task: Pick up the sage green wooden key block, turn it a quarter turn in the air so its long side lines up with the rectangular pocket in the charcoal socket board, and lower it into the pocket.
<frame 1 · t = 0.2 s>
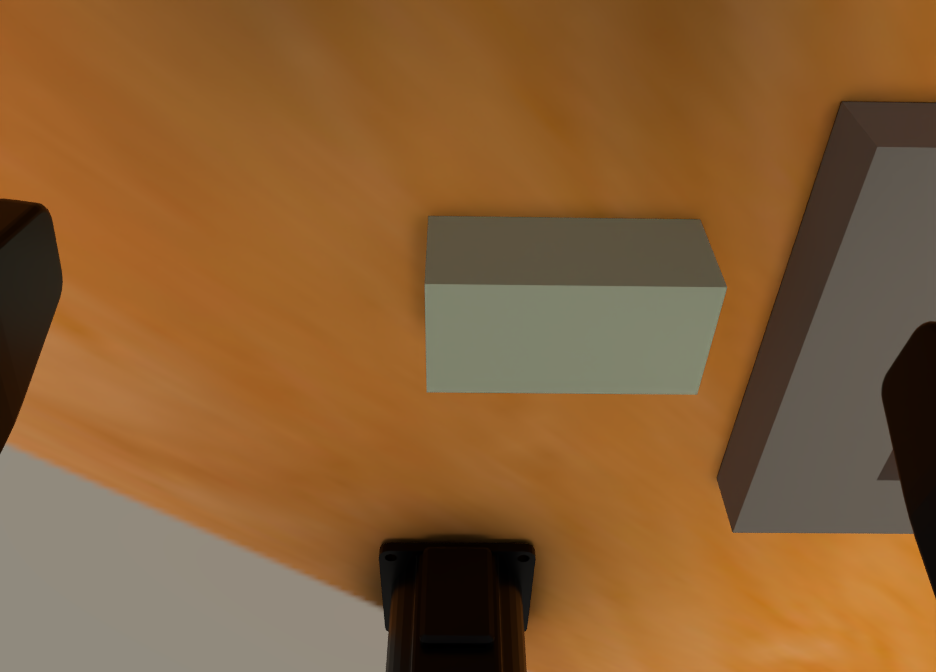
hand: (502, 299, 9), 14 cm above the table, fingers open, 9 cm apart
key block: (557, 268, 26), on the table
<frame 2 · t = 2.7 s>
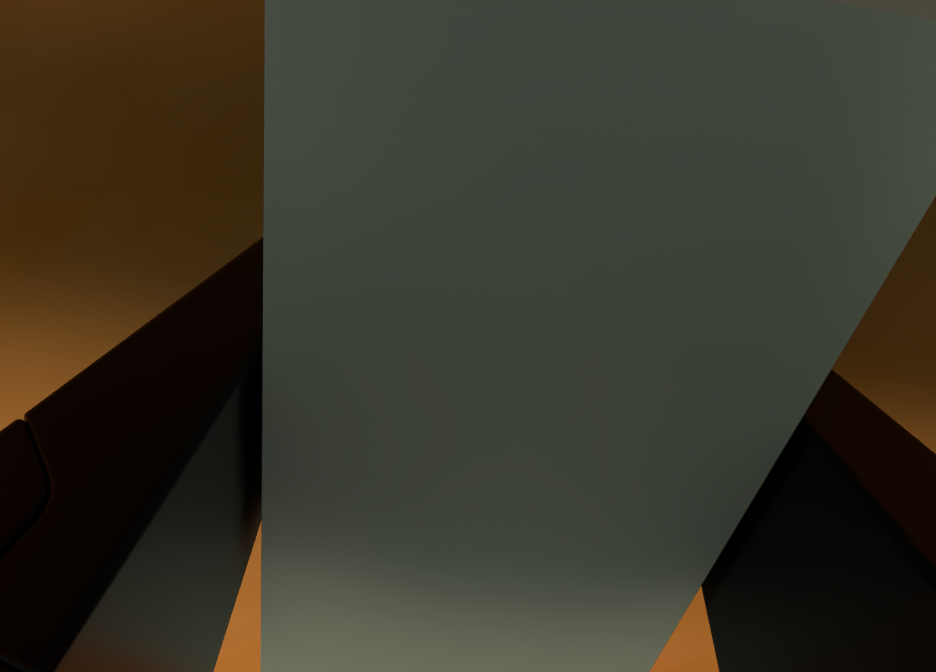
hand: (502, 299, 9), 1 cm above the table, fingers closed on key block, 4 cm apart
key block: (498, 243, 9), on the table, touching gripper
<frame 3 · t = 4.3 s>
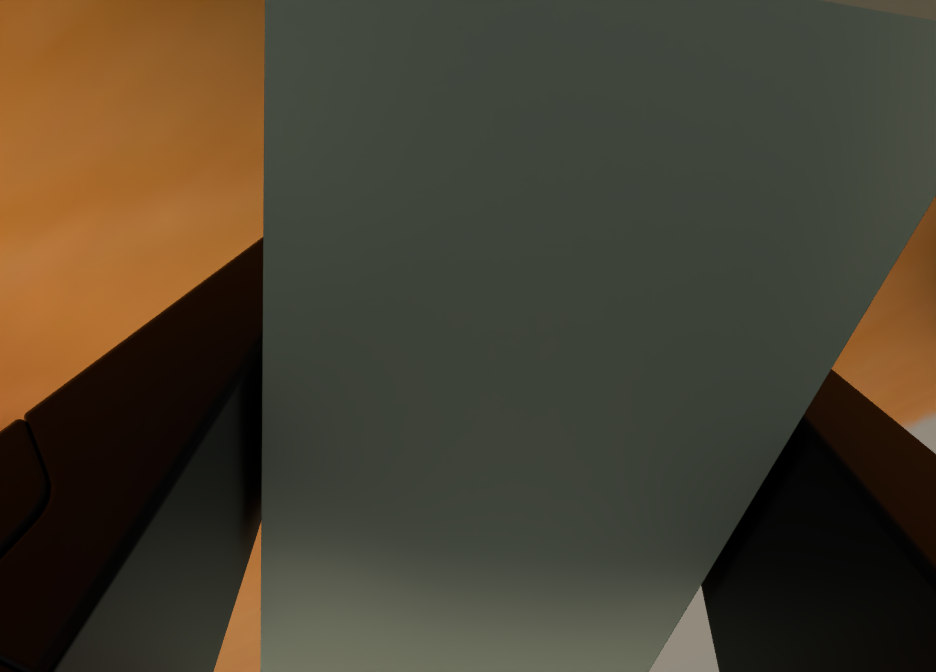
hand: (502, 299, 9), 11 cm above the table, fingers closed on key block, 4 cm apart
key block: (498, 242, 9), point 10 cm above the table, touching gripper
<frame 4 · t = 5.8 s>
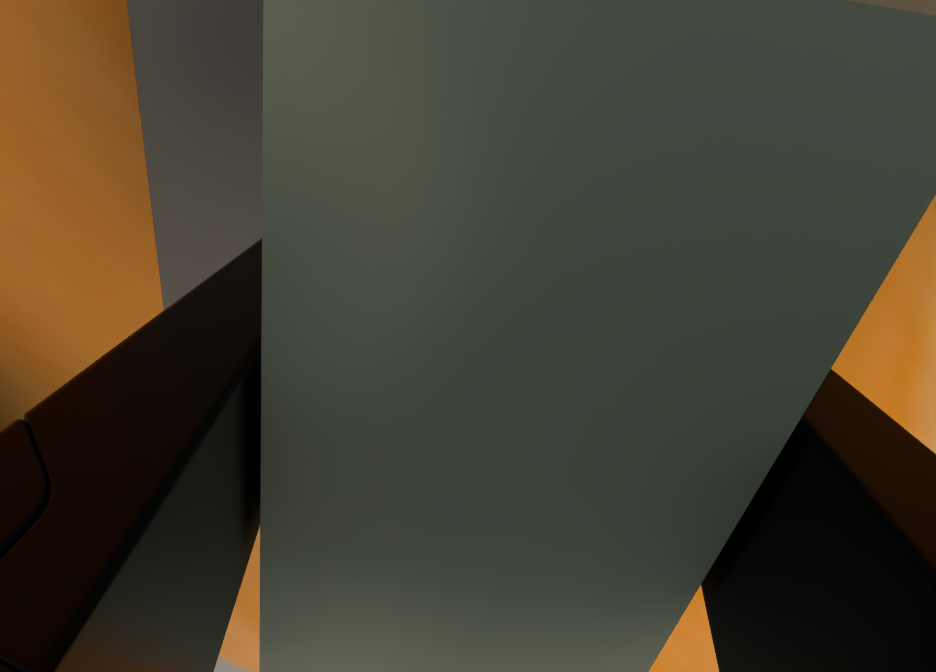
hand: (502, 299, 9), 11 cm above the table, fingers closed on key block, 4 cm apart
key block: (497, 241, 9), point 10 cm above the table, touching gripper
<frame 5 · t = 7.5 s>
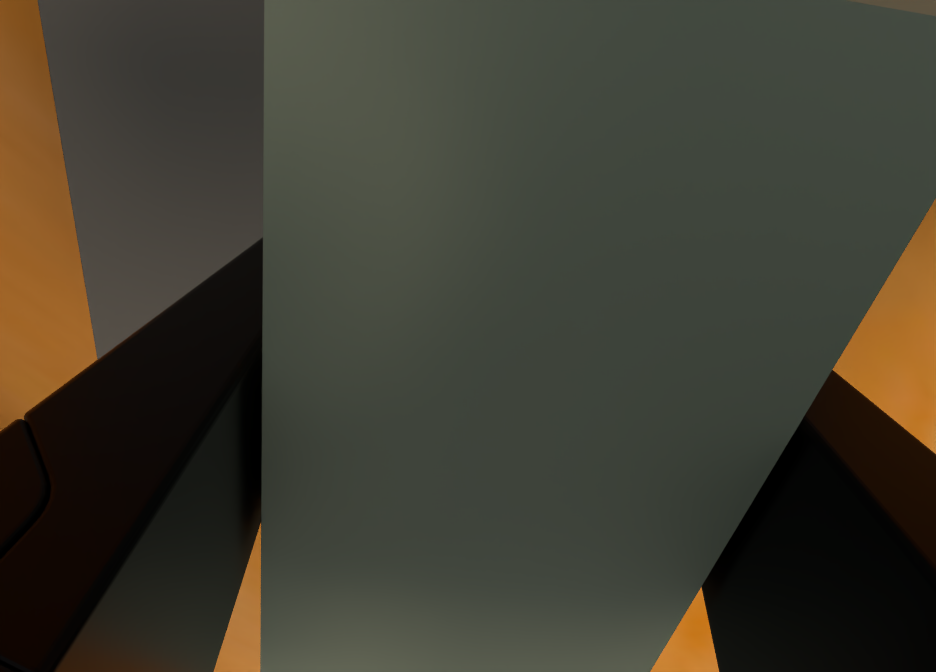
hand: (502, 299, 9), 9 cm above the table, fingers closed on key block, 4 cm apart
key block: (498, 241, 9), point 8 cm above the table, touching gripper
socket board: (489, 10, 15), on the table
when the fingers open (3 cm above the table, at t = 9.0 s): key block drops 2 cm, resting in socket board.
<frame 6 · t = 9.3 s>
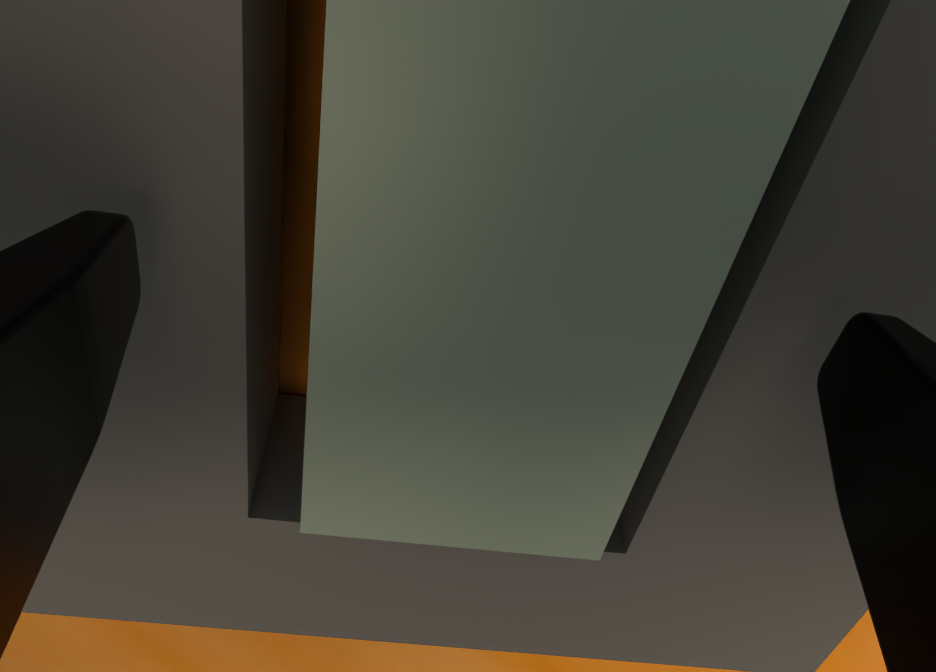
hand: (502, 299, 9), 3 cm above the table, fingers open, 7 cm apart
key block: (499, 149, 11), resting in socket board
socket board: (496, 159, 11), on the table
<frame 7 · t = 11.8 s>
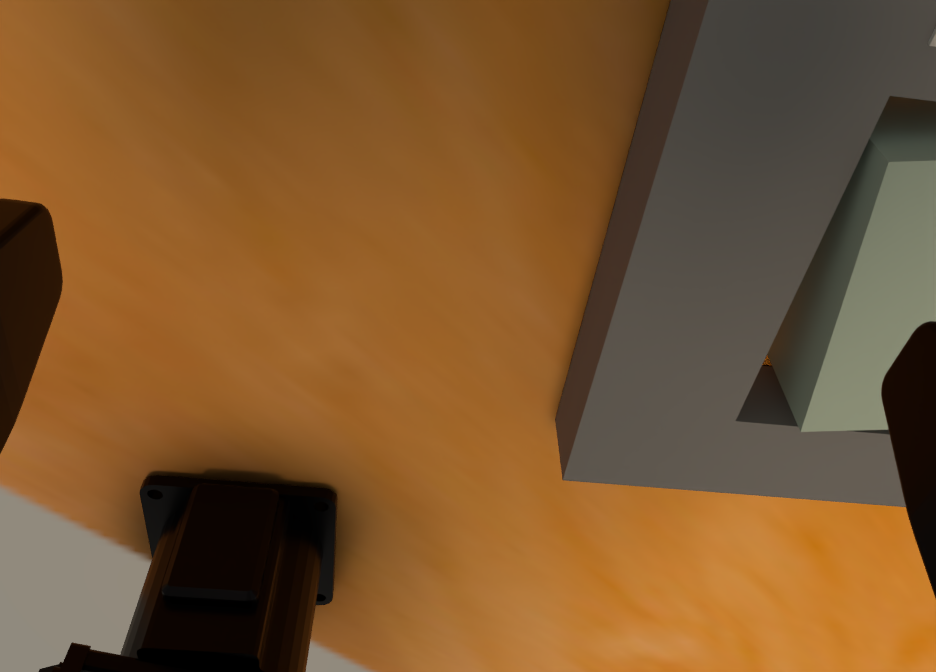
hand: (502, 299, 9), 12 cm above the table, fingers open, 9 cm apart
key block: (868, 231, 22), resting in socket board
socket board: (870, 237, 22), on the table
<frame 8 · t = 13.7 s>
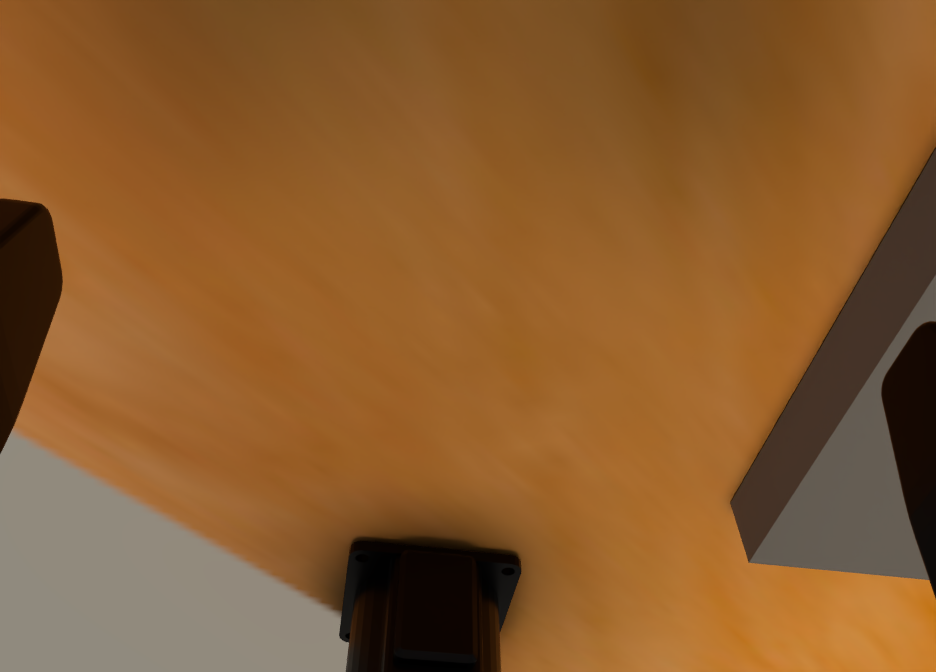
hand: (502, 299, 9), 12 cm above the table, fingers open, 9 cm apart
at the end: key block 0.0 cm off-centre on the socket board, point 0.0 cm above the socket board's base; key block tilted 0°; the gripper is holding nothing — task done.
